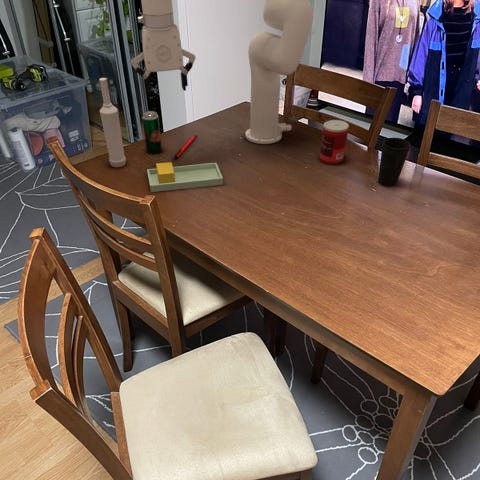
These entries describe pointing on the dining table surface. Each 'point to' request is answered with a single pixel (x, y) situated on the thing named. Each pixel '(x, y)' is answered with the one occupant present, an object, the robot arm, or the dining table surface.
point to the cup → (392, 160)
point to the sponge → (165, 173)
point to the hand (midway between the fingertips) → (167, 90)
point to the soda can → (152, 132)
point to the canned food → (333, 141)
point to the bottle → (111, 128)
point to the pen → (184, 147)
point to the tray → (188, 177)
